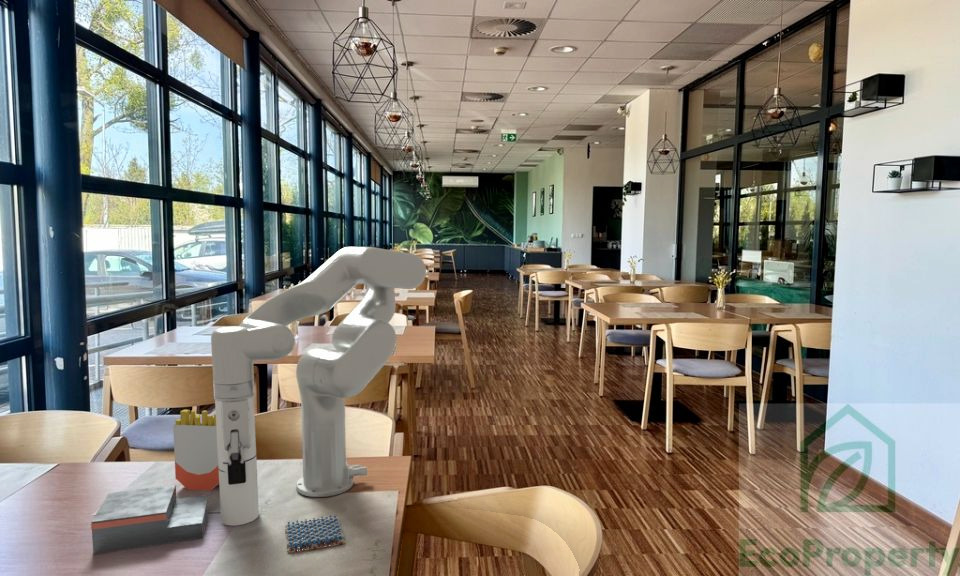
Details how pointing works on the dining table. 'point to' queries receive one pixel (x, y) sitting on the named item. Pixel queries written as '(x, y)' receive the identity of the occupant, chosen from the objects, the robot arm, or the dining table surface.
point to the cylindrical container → (242, 497)
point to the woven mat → (314, 533)
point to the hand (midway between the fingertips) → (238, 474)
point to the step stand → (147, 519)
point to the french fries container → (196, 451)
